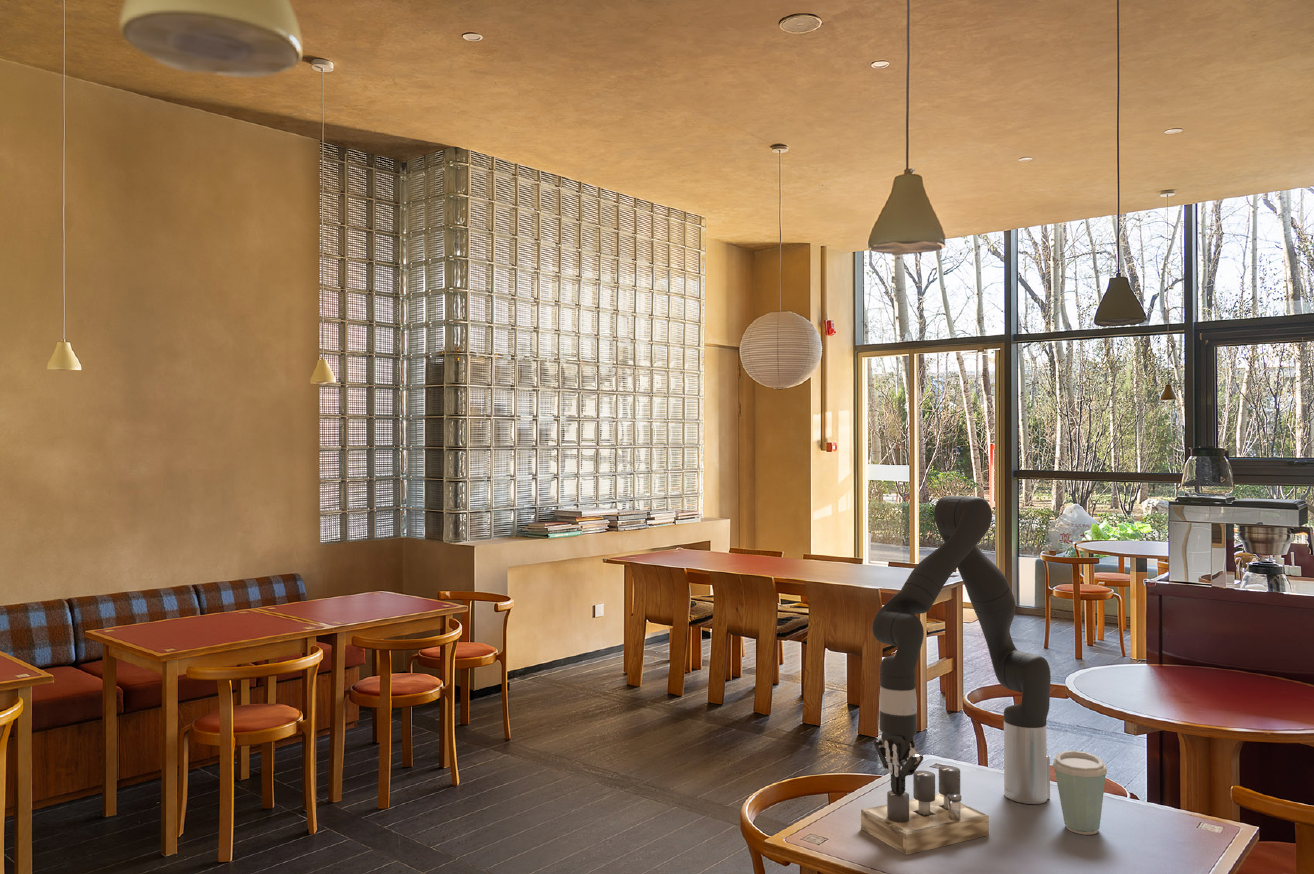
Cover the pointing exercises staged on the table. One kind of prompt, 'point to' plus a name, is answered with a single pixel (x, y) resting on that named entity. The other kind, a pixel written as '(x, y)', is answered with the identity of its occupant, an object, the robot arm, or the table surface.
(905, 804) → the knob
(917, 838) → the mount
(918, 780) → the knob mid
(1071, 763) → the disposable coffee cup
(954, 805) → the capped glass vial
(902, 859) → the table surface
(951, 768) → the knob
